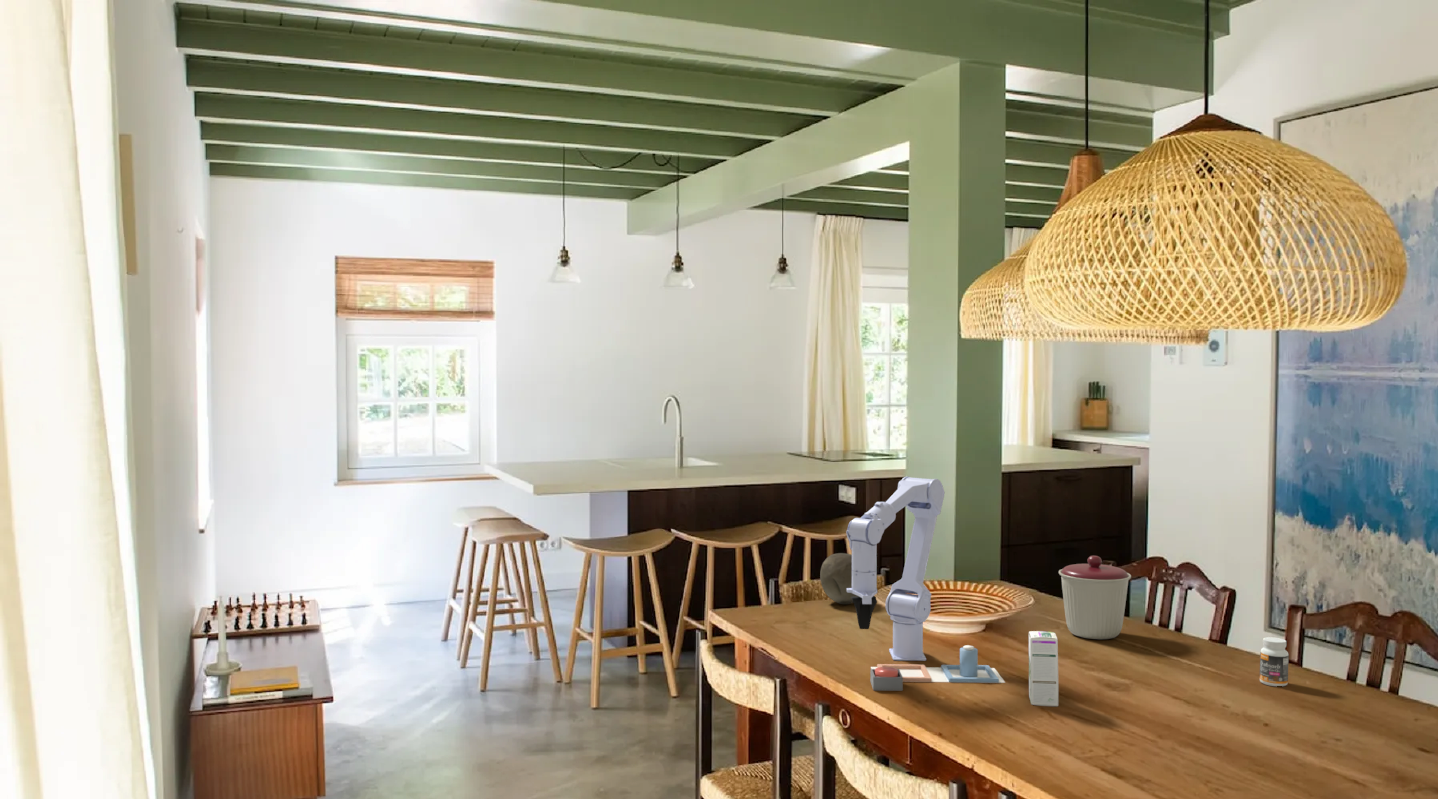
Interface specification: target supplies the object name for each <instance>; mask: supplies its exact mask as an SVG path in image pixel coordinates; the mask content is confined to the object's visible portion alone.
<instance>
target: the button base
mask: <svg viewBox="0 0 1438 799" xmlns="http://www.w3.org/2000/svg"><path fill="white" fill-rule="evenodd" d="M897 670H898V677H875V669H871V668H870V674H869V675H870V679H869V680H870V681H869V682H870V684H871V688H872V690H873V691H881V692H882V691H883V692H884V691H886V692H887V691H888V692H889V691H891V692H892V691H893V692H894V691H896V692H897V691H899V692H901V691H903V690H904V686H903V685H904V684H903V683H904V682H903V677H902V675H901V673H900V670H899V669H897Z"/></svg>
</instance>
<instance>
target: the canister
mask: <svg viewBox="0 0 1438 799" xmlns="http://www.w3.org/2000/svg"><path fill="white" fill-rule="evenodd" d="M1102 562H1103V561H1102V558H1101V557H1100V556H1098V555H1090V556H1089V557H1088V558H1087V563H1076V564H1069V565H1066V566H1064V567H1063V568H1062V569H1059V570H1058V574H1059V576H1061V577H1060V578H1061V590H1062V598H1063V600H1062V601H1063V607H1064V615H1065V623H1066V626H1067V630H1068V631H1069V632H1070V633H1071V634H1072V635H1074V636H1077V637H1079V638H1083V639H1090V640H1109V639H1110V640H1111V639H1114V638H1116V637H1118V636H1119V635H1120V633H1121V632H1122V629H1123V623H1124V617H1125V613H1126V612H1125V609H1126V601H1127V594H1128V588H1129V587H1128V586H1129V580H1131V578H1132V575H1131V574H1130V573H1129V572H1127V571H1126V570H1125V569H1123V568H1120V567H1117V566H1113V565H1109V564H1102Z"/></svg>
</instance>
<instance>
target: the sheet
mask: <svg viewBox="0 0 1438 799" xmlns="http://www.w3.org/2000/svg"><path fill="white" fill-rule="evenodd" d="M925 667H926V669H927V671H928V673H929V675H930V676H931V682H930V683H950V682H949V681H948V679H947V677H946V675H945V674H944V672H943V670H942V669H941V666H940V667H935V666H934V667H933V666H932V667H927V666H925ZM876 668H877V666H870V670H871V669H876ZM990 668H991V669H992V671H993V672H994V673H995V675H996V676H997V677H998V679H999V682H977V683H982V684H983V683H985V684H988V683H990V684H991V683H992V684H995V683H996V684H1003V683H1006V681H1005V680H1004V678H1003V677H1002V676H1001V675H1000V673H999V672H998V670H997V669H996V668H995V667H990ZM899 670H900V673H901V675H902V677H924V675H923V673H922V671H921V669H899ZM948 670H949V671H950V673H951V675H952V676H953V677H962V676H960V669H948ZM977 677H982V678H991V677H990V676H989V675H988V673H987V672H986V670H978V676H977Z"/></svg>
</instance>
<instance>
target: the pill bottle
mask: <svg viewBox="0 0 1438 799" xmlns="http://www.w3.org/2000/svg"><path fill="white" fill-rule="evenodd" d="M1262 644H1263V647H1261V649H1260V654H1259V660H1260V661H1259V682H1260V683H1262V684H1263V685H1266V686H1270V687H1277V686H1282V687H1286V686H1288V683H1289V657H1290V656H1289V652H1288V651H1287V650H1286V648H1287V640H1285V639H1284V638H1279V637H1274V636H1273V637H1272V636H1266V637H1263V639H1262Z"/></svg>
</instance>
